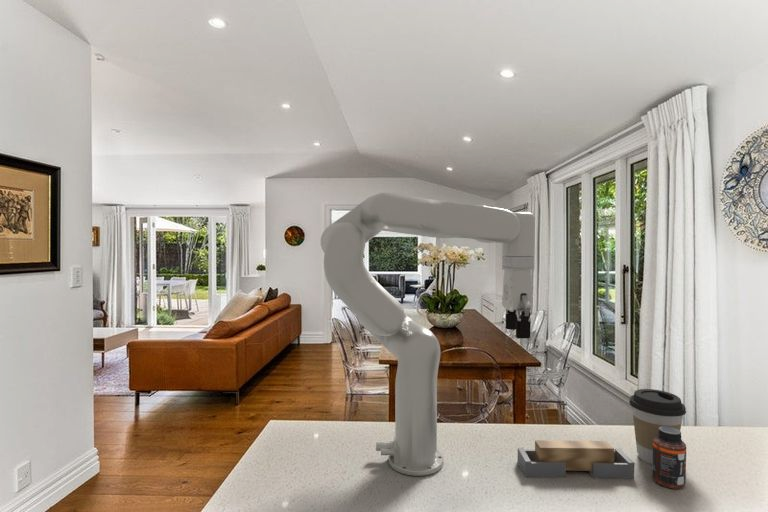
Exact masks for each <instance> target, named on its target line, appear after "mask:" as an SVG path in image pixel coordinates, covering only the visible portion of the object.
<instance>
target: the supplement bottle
mask: <svg viewBox="0 0 768 512" xmlns="http://www.w3.org/2000/svg"><path fill="white" fill-rule="evenodd" d="M658 434H659V435H658V436H656V437H654V439H653V463H652V464H651V465H652V467H651V468H652V469H651V475H652V479H653V480H654V481H655V482H656V483H657V484H659V485H660V486H662V487H665V488H668V489H673V490H681V489H683V488H684V487H685V486H686V481H687V479H686V476H687V445H686V444H687V443H685V442H684V441H683V440H682V431H681V430H680V431H679V430H678V429H676V428H672V427H667V426H662V427H659V432H658Z"/></svg>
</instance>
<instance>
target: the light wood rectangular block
mask: <svg viewBox="0 0 768 512" xmlns="http://www.w3.org/2000/svg"><path fill="white" fill-rule="evenodd" d="M534 450H535V462H565V463H566V471H580V472H581V471H583V472H584V471H585V472H589V471H593V463H614V451H615V447H613V446H612V445H611V444H610V443H609V442H608V441H607V440H550V439H549V440H547V439H545V440H534Z"/></svg>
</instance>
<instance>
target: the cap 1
mask: <svg viewBox="0 0 768 512" xmlns="http://www.w3.org/2000/svg"><path fill="white" fill-rule="evenodd" d="M517 464H518V466H519V468H520V469H521V471H522V473H523V475H524V477H525V478H526V477H527V478H529V477H530V478H566V475H567V474H566V471H567V470H566V463H565V462H535V449H524V447H517Z"/></svg>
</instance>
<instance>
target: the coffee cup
mask: <svg viewBox="0 0 768 512" xmlns="http://www.w3.org/2000/svg"><path fill="white" fill-rule="evenodd" d="M628 403H629V405H630V406H631V409H632V419H633V427H634V436H635V445H636V453H637V455H638V458H639V459H640V460H641V461H642V462H644V463H646V464H650V465H652V463H653V439H654V437H656V436H658V435H659V434H658V432H659V427H662V426H667V427H672V428H676V429H678V430H679V431H681V428H682V423H683V418H684V415H686V414H687V410H686V409H687V408H686V406H685V404H684V403H682V399H681V398H680V397H679V396H678V395H677V394H674V393H672V392H668V391H663V390H659V389H652V388H641V389H637V390H635V391H634V392H633V394H632V395H631V396H630V397H629V401H628Z"/></svg>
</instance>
